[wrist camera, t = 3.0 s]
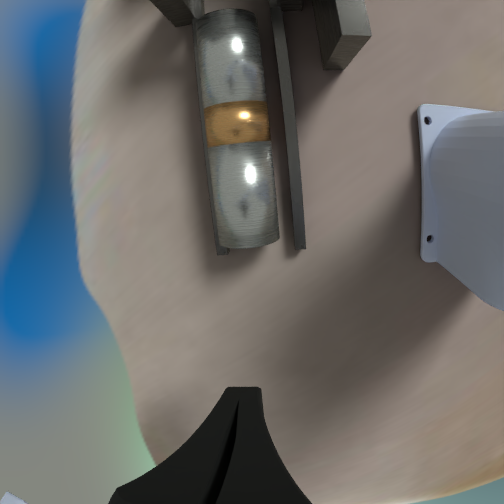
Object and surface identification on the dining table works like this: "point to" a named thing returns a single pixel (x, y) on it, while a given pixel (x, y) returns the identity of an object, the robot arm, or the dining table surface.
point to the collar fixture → (286, 73)
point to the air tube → (237, 128)
